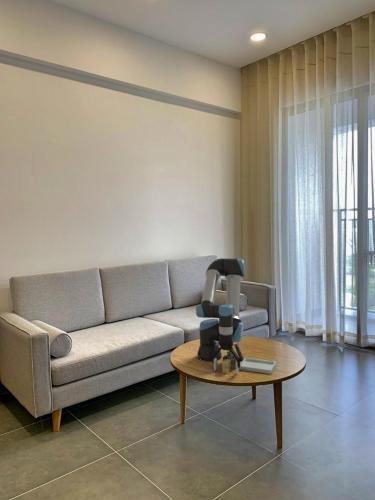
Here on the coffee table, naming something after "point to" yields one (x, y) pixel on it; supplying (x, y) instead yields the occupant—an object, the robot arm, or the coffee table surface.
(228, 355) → the cylinder
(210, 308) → the robot arm
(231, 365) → the brown octagonal handled piece
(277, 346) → the coffee table surface
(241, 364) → the tray
